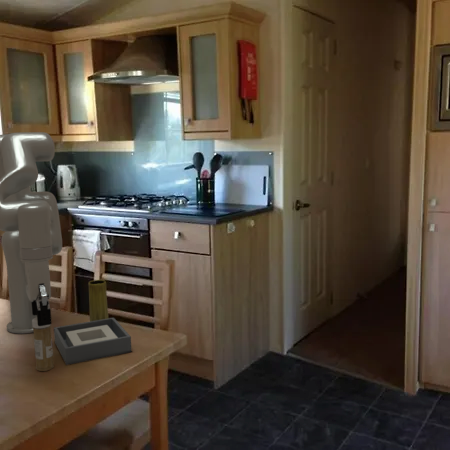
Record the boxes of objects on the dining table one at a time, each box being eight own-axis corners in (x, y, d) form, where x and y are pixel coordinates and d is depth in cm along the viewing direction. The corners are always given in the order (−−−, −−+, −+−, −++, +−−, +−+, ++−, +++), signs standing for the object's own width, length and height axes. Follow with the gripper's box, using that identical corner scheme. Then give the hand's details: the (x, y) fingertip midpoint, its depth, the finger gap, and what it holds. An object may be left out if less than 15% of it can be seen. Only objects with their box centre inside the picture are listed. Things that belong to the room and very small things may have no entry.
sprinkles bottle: (56, 368, 139) (53, 319, 137) (38, 373, 137) (34, 322, 135) (51, 362, 143) (47, 314, 141) (33, 367, 141) (29, 317, 138)
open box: (54, 342, 157) (53, 327, 156) (114, 331, 165) (113, 317, 164) (66, 365, 142) (65, 348, 141) (131, 352, 149) (130, 336, 148)
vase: (111, 322, 173) (109, 279, 170) (105, 329, 167) (103, 284, 164) (93, 322, 173) (90, 279, 171) (86, 329, 167) (84, 284, 165)
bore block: (66, 341, 156) (65, 331, 155) (107, 334, 161) (107, 324, 160) (74, 356, 145) (74, 346, 145) (118, 348, 150) (118, 338, 150)
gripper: (16, 249, 141) (22, 313, 143) (24, 261, 125) (30, 332, 128) (46, 246, 144) (51, 308, 146) (58, 257, 129) (63, 326, 131)
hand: (41, 319), depth 137 cm, fingers open, 9 cm apart
